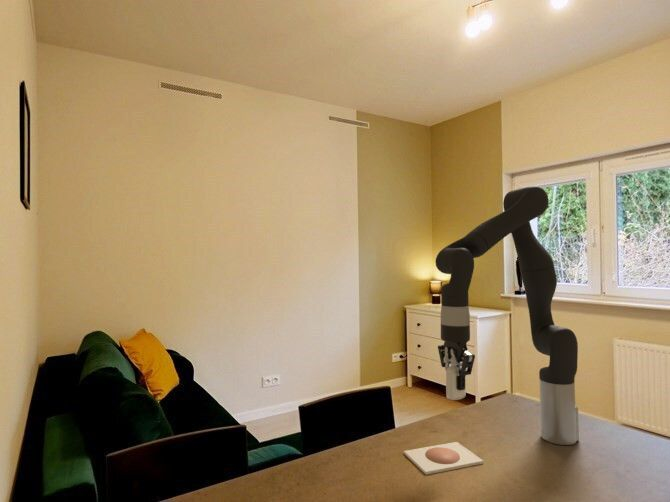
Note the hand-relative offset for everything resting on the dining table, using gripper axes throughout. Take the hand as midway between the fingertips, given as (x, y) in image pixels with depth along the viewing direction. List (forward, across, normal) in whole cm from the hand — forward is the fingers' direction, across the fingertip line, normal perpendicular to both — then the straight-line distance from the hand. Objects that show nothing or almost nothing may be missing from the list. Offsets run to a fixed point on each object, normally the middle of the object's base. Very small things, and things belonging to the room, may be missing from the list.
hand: (455, 387), depth 110 cm
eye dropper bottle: (+3, 0, 0) cm, 3 cm away
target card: (+20, +3, +2) cm, 20 cm away
